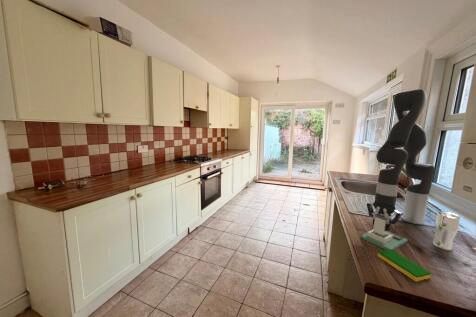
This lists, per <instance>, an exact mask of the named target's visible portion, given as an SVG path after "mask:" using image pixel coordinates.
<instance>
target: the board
mask: <svg viewBox="0 0 476 317" xmlns="http://www.w3.org/2000/svg"><path fill="white" fill-rule="evenodd" d="M360 238H361V239H362V240H364V241H366V242H368V243H371V244H372V245H375V246H377V247H379V248H381V249H383V250H389V249H391V250H393V251H395V250H398V249H399V248H400V247H401V246H403V245H405V244H406V243H408V239H407V238H405V237H403V236H401V235H399V234H396V233H393V232H391V231H388V232H387V233H386V234H384V235H381V234H379V233H377V232H374V231H373V229H371V230H368V231H367V232H366V233H363V234H362V235H361V236H360Z"/></svg>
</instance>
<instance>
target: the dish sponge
mask: <svg viewBox="0 0 476 317" xmlns="http://www.w3.org/2000/svg"><path fill="white" fill-rule="evenodd" d="M377 253H378V254H377V257H379V259H381V260H383V261H384V262H386V263H387V264H389V266H390V265H391V266H392V267H393V268H395V269H397V270H398V271H400V272H401V273H402V274H404V275H405V276H407V277H408V278H410V279H412V280H413V281H414V282H420V280H421V281H424V279H425V280H428V279H431V276H432V275H431V274H432V272H431V271H429V270H428V269H426V268H424V267H422V266H420V265H419V264H417V263H415V262H413V261H412V260H411V259H408V258H407V257H405V256H404V255H402V254H400V253H399V252H397V251H395V250H394V251H393V250H391V249H389V250H385V249H383V250H380V251H379V250H378V252H377Z"/></svg>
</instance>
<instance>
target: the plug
mask: <svg viewBox="0 0 476 317" xmlns="http://www.w3.org/2000/svg"><path fill="white" fill-rule="evenodd" d="M385 225H386V218H385V215H383V214H378V215H375V222H374V226H373V229H372V230H373V231H374V232H377V233H379V234H381V235H384V234H386V233H387V232H389V231H387V232H386V231H385Z"/></svg>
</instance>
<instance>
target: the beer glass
mask: <svg viewBox="0 0 476 317" xmlns="http://www.w3.org/2000/svg"><path fill="white" fill-rule="evenodd" d="M460 219H461V216H459V215H457V214H456V213H451V212H448V211H447V212H446V211H437V214H436V217H435V223H434V228H435V229H434V230H435V234H434V236H435V237H434V239H433V241H432V244H433V246H435V247H436V248H438V249H440V250H444V251H453V242H454V239H455V237H456V235H457V233H458V232H459V231H458V230H459V227H460V221H461V220H460Z"/></svg>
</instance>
